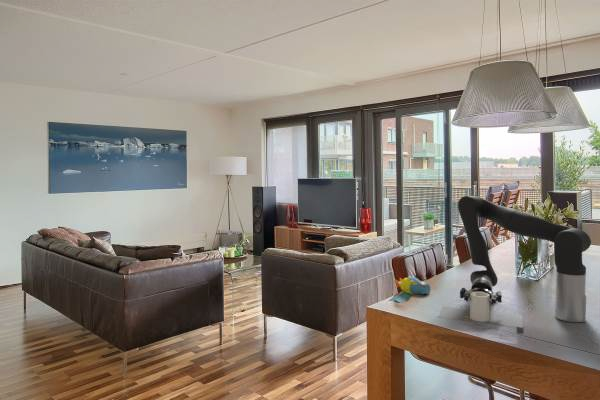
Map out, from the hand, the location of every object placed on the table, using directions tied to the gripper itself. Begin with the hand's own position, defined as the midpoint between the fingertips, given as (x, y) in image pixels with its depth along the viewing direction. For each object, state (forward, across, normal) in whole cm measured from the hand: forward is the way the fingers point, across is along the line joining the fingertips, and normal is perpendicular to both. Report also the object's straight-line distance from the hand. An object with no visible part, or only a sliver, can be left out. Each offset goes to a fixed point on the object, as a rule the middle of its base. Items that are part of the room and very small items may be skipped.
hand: (479, 300), depth 157 cm
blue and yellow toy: (-28, -29, +10) cm, 41 cm away
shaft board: (-5, 0, +9) cm, 10 cm away
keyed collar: (-2, 0, +7) cm, 8 cm away
